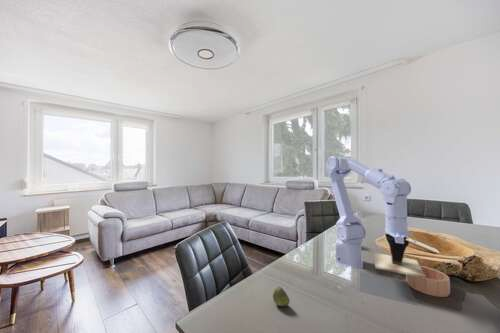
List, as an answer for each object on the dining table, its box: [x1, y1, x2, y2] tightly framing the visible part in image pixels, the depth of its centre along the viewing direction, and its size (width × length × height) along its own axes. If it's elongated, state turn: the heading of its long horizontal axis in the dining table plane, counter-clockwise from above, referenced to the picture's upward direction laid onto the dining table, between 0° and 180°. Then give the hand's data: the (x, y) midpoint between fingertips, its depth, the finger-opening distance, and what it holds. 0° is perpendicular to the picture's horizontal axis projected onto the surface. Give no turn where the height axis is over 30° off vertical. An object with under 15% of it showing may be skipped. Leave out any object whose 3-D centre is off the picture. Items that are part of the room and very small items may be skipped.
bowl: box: [405, 265, 451, 298], centre depth 64 cm, size 10×10×5 cm
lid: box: [373, 252, 426, 278], centre depth 65 cm, size 12×12×5 cm
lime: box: [272, 285, 290, 307], centre depth 56 cm, size 4×5×5 cm
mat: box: [359, 270, 418, 306], centre depth 65 cm, size 14×14×1 cm
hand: (396, 259), depth 65 cm, fingers closed on lid, 2 cm apart
